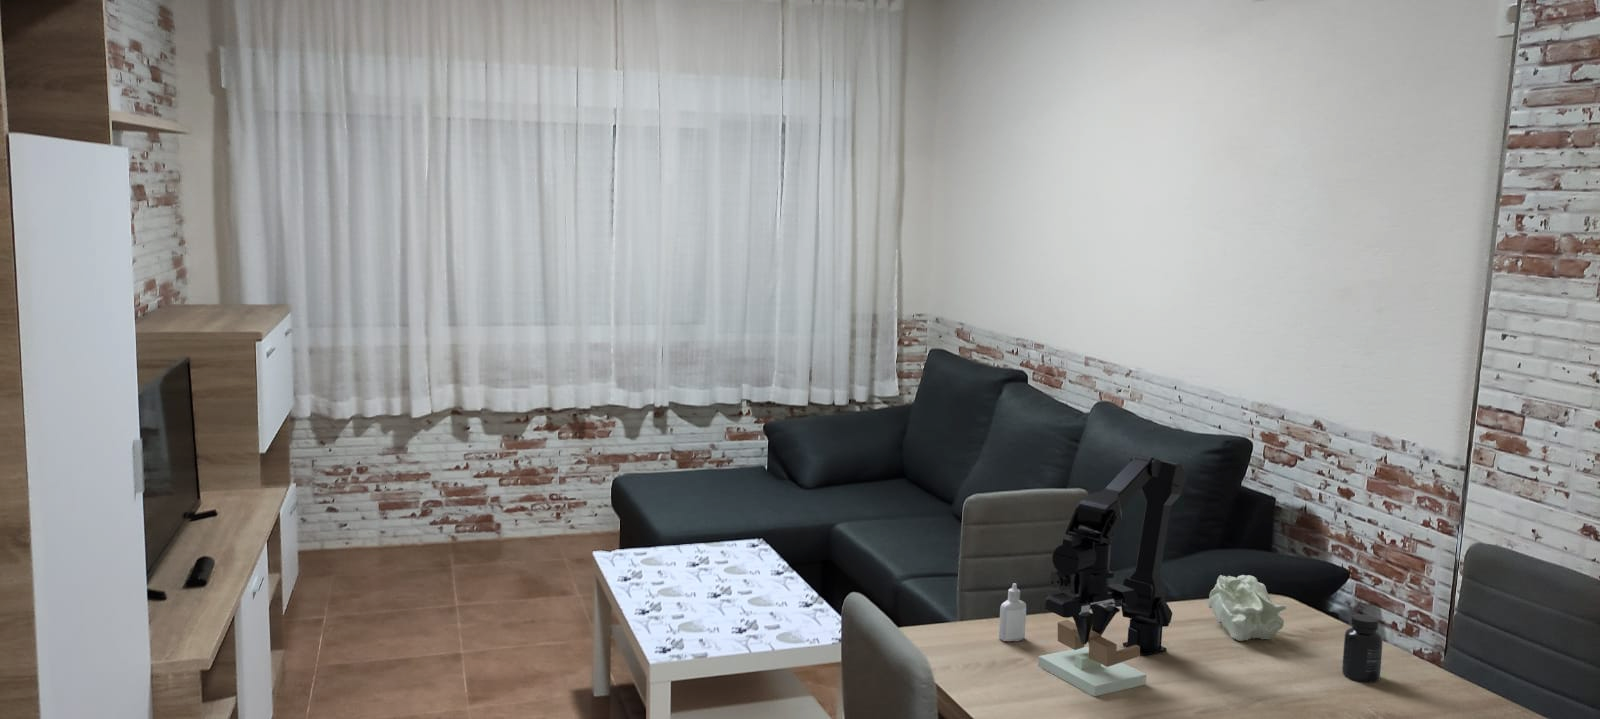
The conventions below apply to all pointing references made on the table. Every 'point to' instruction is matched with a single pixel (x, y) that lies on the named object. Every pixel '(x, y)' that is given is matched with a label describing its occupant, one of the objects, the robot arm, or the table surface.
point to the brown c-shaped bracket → (1095, 645)
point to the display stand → (1091, 672)
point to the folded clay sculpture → (1245, 608)
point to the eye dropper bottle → (1012, 617)
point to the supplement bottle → (1362, 649)
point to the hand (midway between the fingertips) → (1089, 642)
